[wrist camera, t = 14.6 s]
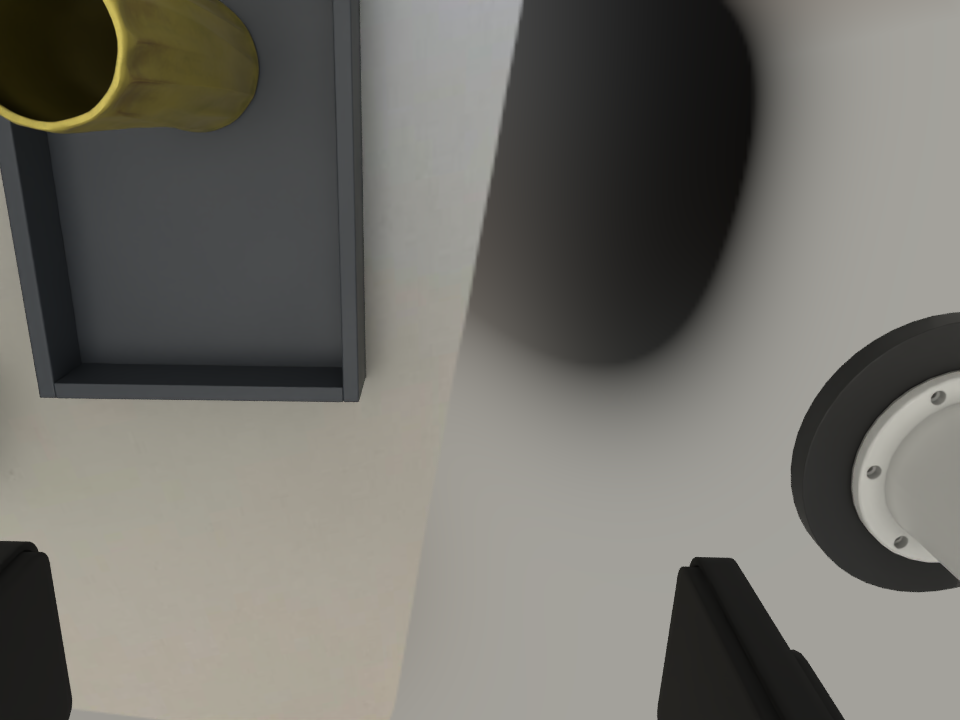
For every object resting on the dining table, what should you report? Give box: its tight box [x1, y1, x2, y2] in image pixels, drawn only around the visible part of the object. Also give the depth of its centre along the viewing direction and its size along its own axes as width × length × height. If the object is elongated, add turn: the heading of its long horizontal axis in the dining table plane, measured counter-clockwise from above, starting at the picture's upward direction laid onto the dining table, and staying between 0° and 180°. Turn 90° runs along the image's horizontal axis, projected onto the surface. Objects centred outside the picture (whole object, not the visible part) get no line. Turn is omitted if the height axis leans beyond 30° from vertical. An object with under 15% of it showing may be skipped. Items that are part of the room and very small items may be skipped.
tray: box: [0, 0, 366, 402], centre depth 35 cm, size 16×22×4 cm
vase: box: [0, 0, 259, 134], centre depth 27 cm, size 6×6×14 cm
